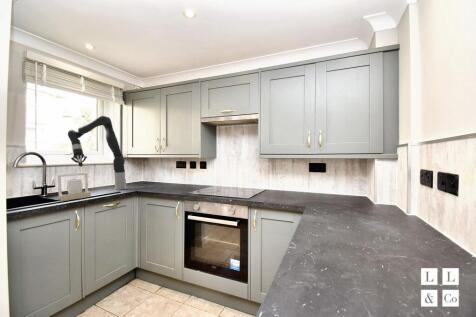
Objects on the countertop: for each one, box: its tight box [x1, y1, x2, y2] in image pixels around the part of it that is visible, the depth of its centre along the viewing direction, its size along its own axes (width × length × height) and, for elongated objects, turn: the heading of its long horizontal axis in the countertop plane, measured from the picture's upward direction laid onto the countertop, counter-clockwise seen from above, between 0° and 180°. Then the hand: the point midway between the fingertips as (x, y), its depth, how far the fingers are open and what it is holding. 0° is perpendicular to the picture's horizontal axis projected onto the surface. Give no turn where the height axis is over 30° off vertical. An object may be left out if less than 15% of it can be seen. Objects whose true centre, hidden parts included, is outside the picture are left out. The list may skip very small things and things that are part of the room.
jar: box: [66, 178, 84, 195], centre depth 179 cm, size 11×10×15 cm
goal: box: [57, 172, 92, 201], centre depth 178 cm, size 14×20×20 cm
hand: (81, 166), depth 203 cm, fingers closed
